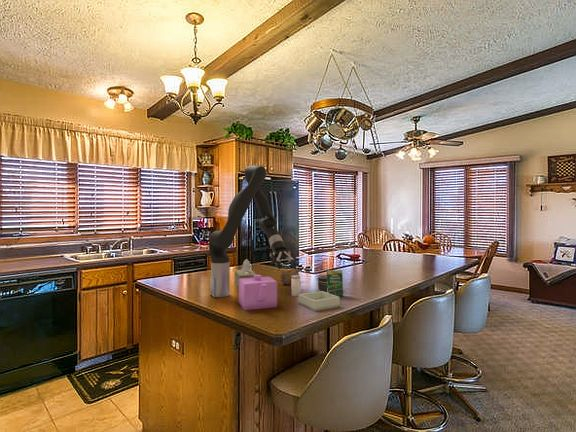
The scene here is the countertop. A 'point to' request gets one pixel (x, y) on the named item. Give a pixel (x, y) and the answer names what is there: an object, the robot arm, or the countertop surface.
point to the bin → (318, 300)
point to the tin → (288, 275)
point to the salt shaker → (295, 285)
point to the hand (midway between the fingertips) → (287, 267)
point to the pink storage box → (257, 292)
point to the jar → (322, 283)
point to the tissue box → (244, 272)
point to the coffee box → (335, 283)
